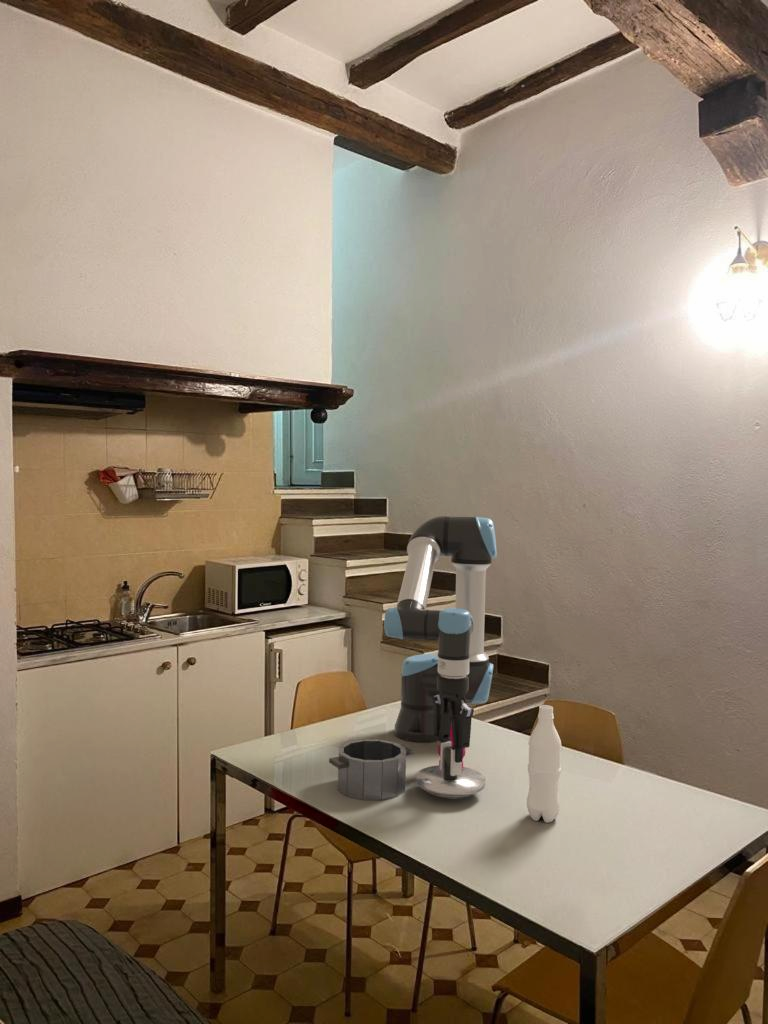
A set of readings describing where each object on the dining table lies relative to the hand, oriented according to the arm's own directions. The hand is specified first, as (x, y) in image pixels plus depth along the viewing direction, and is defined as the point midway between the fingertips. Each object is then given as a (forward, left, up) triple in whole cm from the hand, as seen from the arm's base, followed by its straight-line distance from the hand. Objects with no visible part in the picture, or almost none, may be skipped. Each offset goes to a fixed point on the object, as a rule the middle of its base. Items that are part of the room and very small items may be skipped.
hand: (450, 771), depth 189 cm
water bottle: (-10, +21, -6) cm, 24 cm away
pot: (+14, -13, -5) cm, 20 cm away
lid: (0, 0, -4) cm, 4 cm away
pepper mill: (-11, -14, -6) cm, 18 cm away
